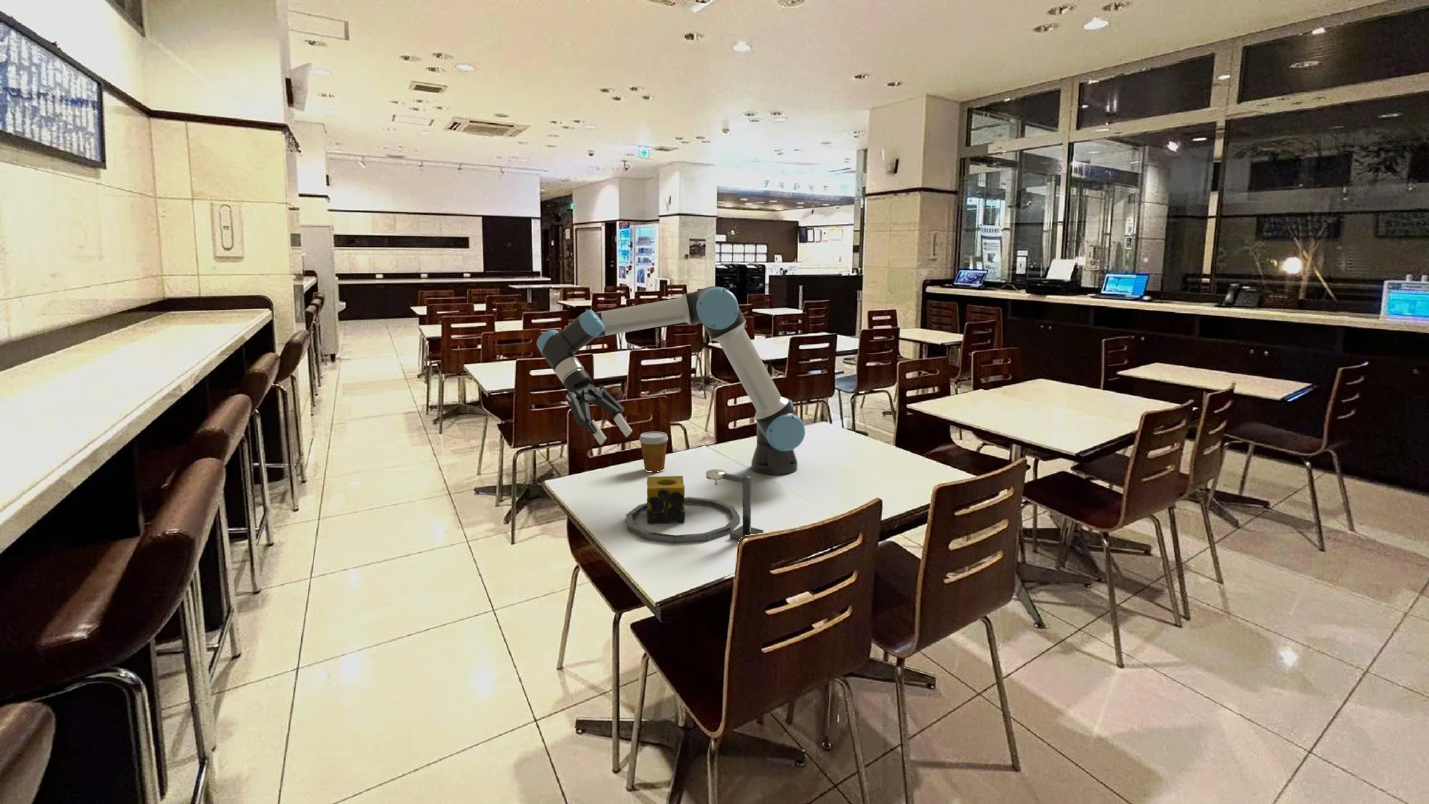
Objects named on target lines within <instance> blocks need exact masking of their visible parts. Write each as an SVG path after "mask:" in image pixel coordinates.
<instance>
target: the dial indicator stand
mask: <svg viewBox="0 0 1429 804" xmlns="http://www.w3.org/2000/svg"><path fill="white" fill-rule="evenodd" d="M705 477H706V479H708V480H711V481H714V485H715V486H717V485H718V481H720V480H726V481H729V482H730V481H731V482H734V483H735V482H736V483H740V484H742V525H741V526H739V527H738V528H737V527H736V528H735V529H734V530H733V531H732V532H730V534H729V539H730V540H734V541H738V540H739V539H740V538H741V537H744V536H745V535H750V534H758V533H763V532H765V531H764V530H765V529H764V530H763V529H759V528H756V527H752V510H751V509H752V477H751V475H737V474H732V473H727V471H726V470H723V469H716V468H715V469H709V470H707V471H705ZM738 542H739V541H738Z"/></svg>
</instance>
